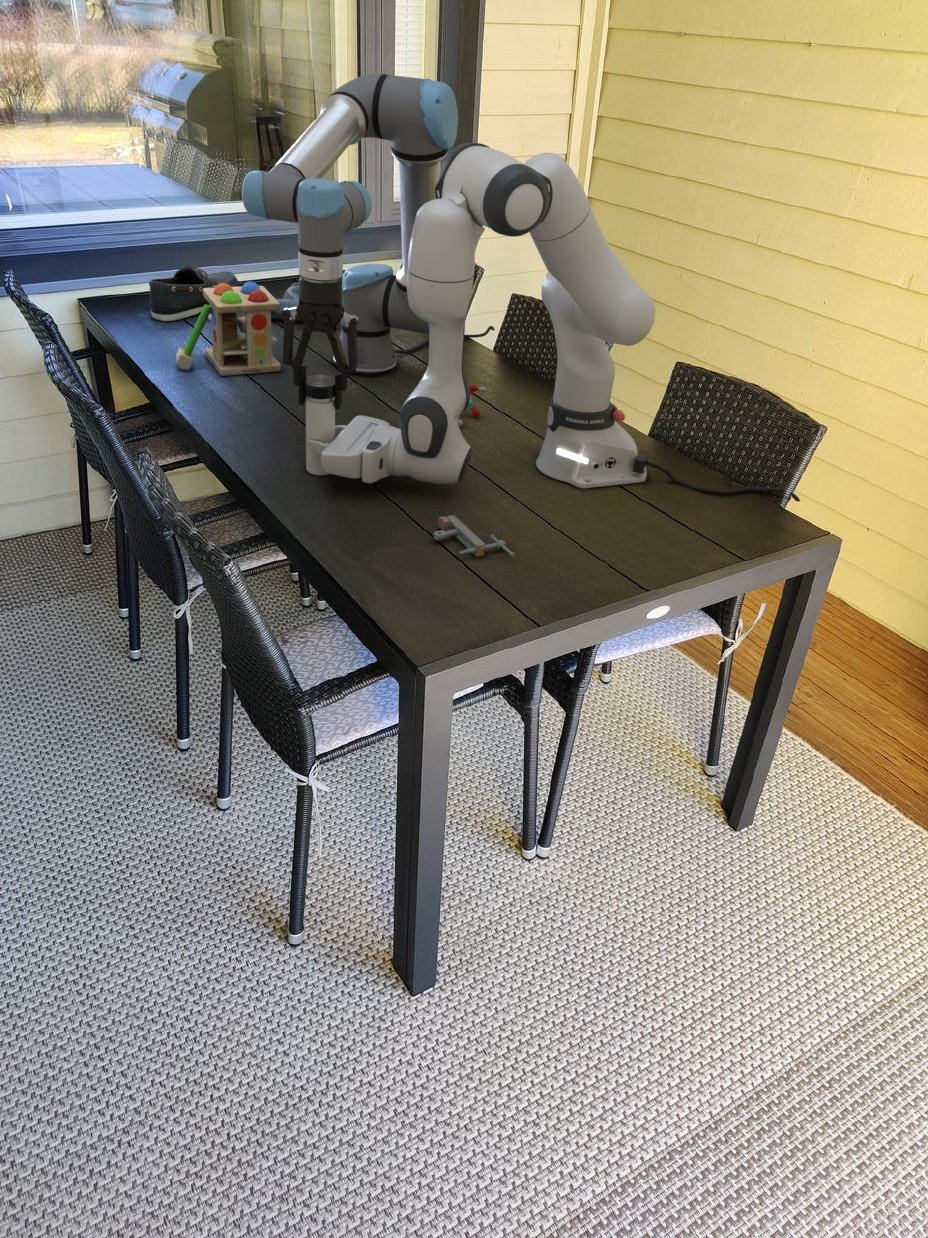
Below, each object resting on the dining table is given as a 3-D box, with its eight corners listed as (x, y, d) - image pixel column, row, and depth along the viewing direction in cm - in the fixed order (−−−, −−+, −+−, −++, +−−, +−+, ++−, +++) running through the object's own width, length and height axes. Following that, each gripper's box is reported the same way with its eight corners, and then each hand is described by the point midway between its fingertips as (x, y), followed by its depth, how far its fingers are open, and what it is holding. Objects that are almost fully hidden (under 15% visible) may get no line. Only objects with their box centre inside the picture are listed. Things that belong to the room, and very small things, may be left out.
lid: (306, 385, 183) (306, 373, 182) (339, 388, 184) (339, 376, 182) (301, 397, 178) (300, 385, 177) (335, 400, 179) (335, 388, 177)
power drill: (344, 304, 276) (335, 327, 259) (277, 298, 275) (264, 321, 258) (344, 285, 273) (335, 306, 256) (277, 279, 272) (264, 300, 255)
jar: (340, 469, 190) (341, 387, 181) (321, 477, 187) (321, 395, 177) (319, 460, 193) (319, 379, 183) (300, 468, 189) (299, 386, 180)
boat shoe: (257, 300, 274) (255, 261, 268) (168, 323, 250) (164, 281, 244) (224, 291, 279) (221, 254, 274) (133, 313, 256) (128, 272, 250)
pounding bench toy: (183, 379, 220) (176, 299, 210) (169, 357, 231) (162, 280, 221) (282, 371, 230) (280, 294, 220) (264, 350, 240) (262, 276, 230)
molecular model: (479, 418, 207) (464, 372, 206) (439, 432, 211) (424, 387, 209) (495, 415, 218) (481, 371, 216) (457, 429, 221) (443, 386, 220)
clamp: (423, 519, 171) (472, 509, 176) (423, 530, 173) (471, 520, 177) (466, 561, 161) (517, 549, 165) (465, 572, 162) (516, 561, 167)
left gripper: (260, 276, 167) (264, 405, 180) (370, 289, 166) (366, 418, 179) (272, 265, 173) (275, 390, 186) (378, 278, 172) (374, 403, 185)
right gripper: (402, 414, 191) (335, 402, 193) (368, 455, 174) (295, 441, 176) (401, 444, 194) (335, 431, 196) (367, 487, 177) (295, 473, 180)
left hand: (320, 404), depth 182 cm, fingers closed on lid, 6 cm apart
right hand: (315, 436), depth 186 cm, fingers closed on jar, 5 cm apart
